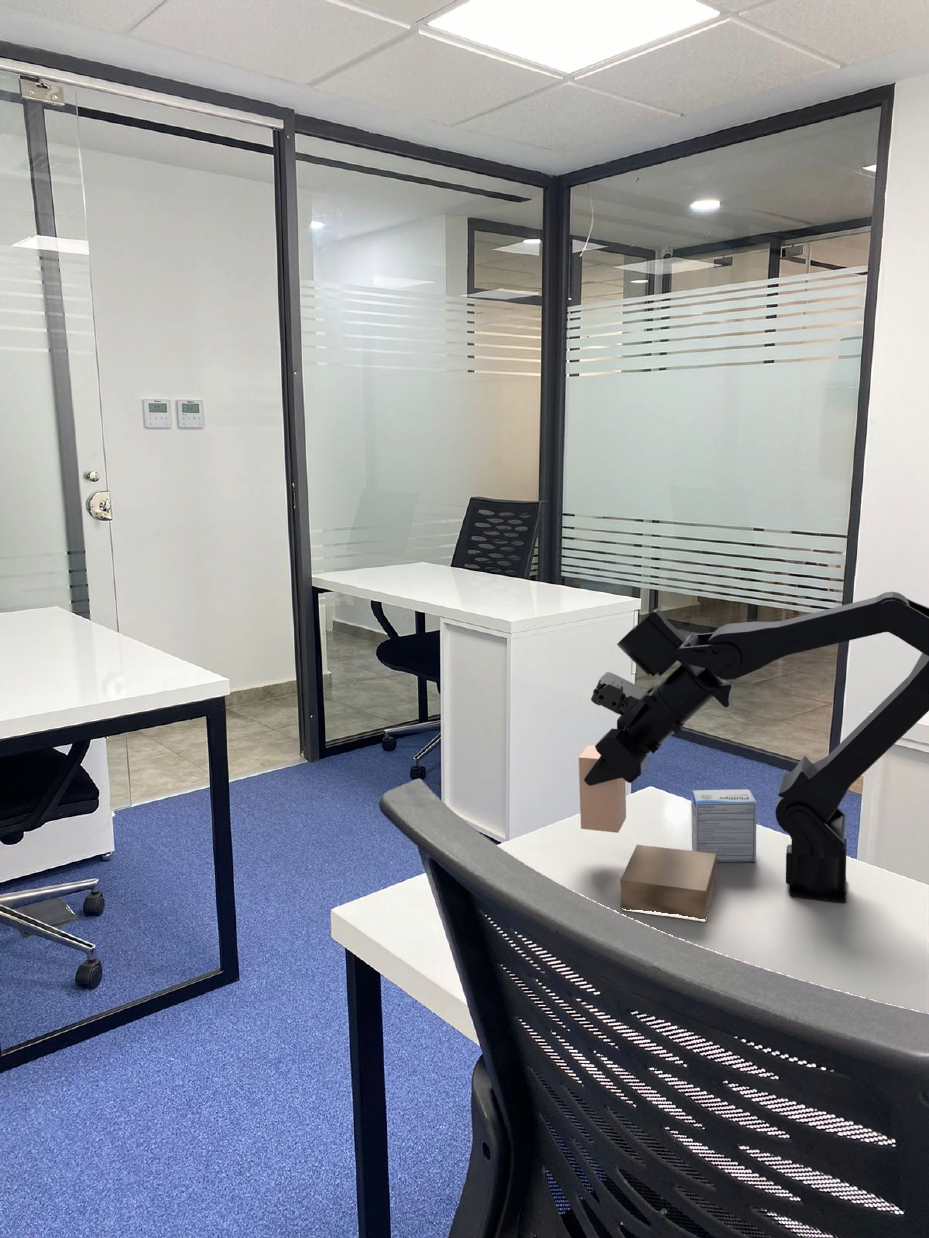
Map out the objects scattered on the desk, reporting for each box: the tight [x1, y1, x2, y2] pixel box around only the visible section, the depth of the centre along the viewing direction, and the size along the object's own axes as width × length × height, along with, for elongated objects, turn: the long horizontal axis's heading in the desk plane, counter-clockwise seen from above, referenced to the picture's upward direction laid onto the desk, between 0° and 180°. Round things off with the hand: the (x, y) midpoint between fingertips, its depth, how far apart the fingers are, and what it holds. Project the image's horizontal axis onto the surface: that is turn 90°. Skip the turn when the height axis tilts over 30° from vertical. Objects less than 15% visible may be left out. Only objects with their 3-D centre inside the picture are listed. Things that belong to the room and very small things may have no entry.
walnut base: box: [620, 844, 717, 921], centre depth 114 cm, size 10×10×4 cm
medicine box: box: [690, 789, 758, 863], centre depth 123 cm, size 8×4×9 cm, turn 84°
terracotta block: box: [578, 744, 627, 834], centre depth 123 cm, size 5×5×10 cm
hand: (592, 775), depth 124 cm, fingers closed on terracotta block, 5 cm apart
